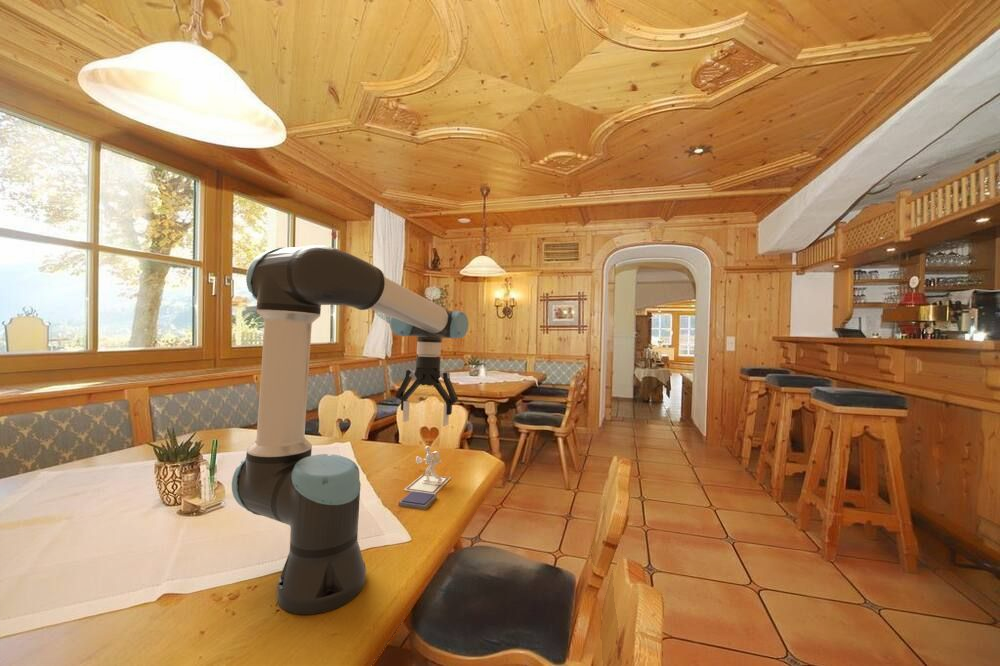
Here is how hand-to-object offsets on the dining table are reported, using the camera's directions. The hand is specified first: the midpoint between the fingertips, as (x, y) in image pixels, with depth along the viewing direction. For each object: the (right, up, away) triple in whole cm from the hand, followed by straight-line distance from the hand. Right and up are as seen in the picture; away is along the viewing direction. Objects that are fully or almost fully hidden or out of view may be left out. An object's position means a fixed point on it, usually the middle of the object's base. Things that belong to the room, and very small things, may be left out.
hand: (425, 423), depth 124 cm
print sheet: (+1, -20, +1) cm, 20 cm away
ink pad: (0, -20, -12) cm, 23 cm away
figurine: (+1, -20, +1) cm, 20 cm away
